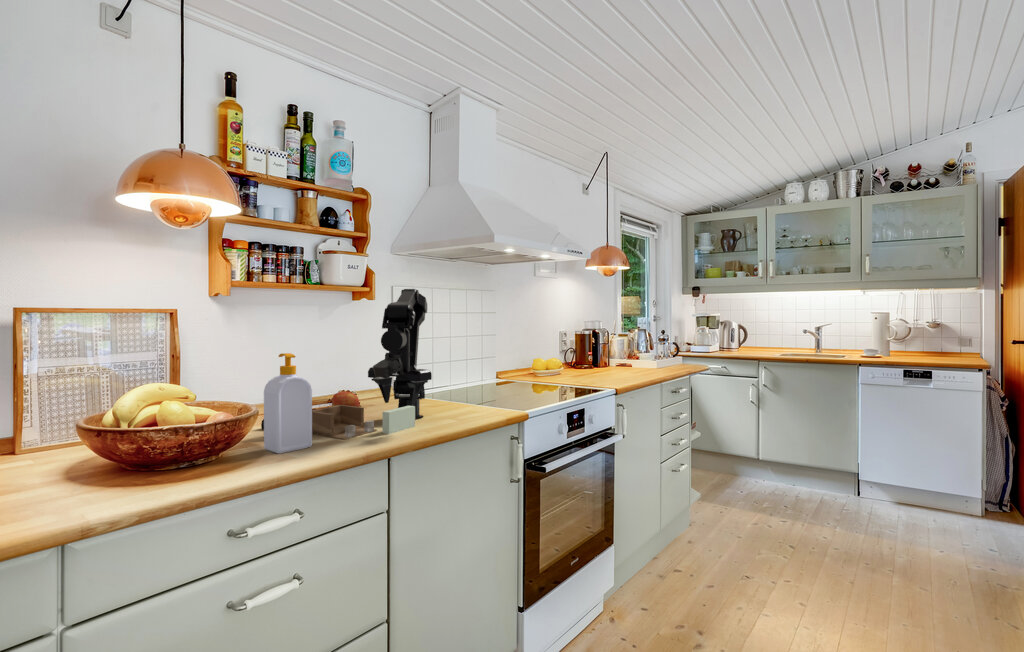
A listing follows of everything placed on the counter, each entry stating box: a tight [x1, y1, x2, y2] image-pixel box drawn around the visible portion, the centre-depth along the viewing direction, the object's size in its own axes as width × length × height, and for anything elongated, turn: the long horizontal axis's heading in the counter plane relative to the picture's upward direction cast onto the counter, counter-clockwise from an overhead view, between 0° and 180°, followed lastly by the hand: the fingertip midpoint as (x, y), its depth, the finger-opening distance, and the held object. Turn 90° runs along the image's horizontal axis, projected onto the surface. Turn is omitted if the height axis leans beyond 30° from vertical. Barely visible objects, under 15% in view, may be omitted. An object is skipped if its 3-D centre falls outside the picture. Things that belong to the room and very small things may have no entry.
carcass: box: [312, 405, 378, 441], centre depth 146 cm, size 12×14×6 cm
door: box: [381, 406, 416, 435], centre depth 149 cm, size 11×2×6 cm, turn 151°
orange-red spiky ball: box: [331, 391, 360, 407], centre depth 167 cm, size 8×8×8 cm
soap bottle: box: [263, 352, 313, 455], centre depth 128 cm, size 9×7×23 cm
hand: (399, 404), depth 149 cm, fingers open, 9 cm apart
